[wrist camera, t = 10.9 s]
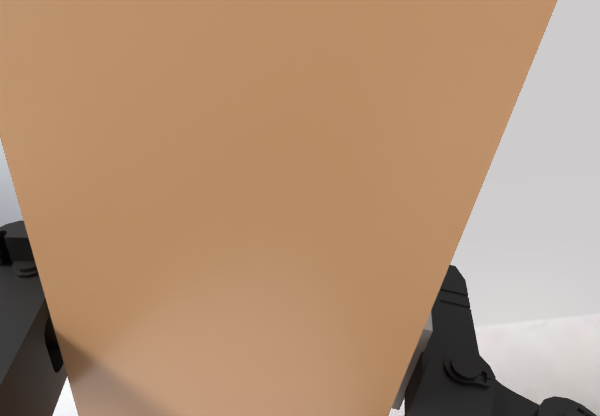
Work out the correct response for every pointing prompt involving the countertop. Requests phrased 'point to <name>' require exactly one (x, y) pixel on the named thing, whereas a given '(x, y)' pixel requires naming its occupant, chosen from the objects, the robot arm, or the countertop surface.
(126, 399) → the tall wooden block
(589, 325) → the countertop surface
